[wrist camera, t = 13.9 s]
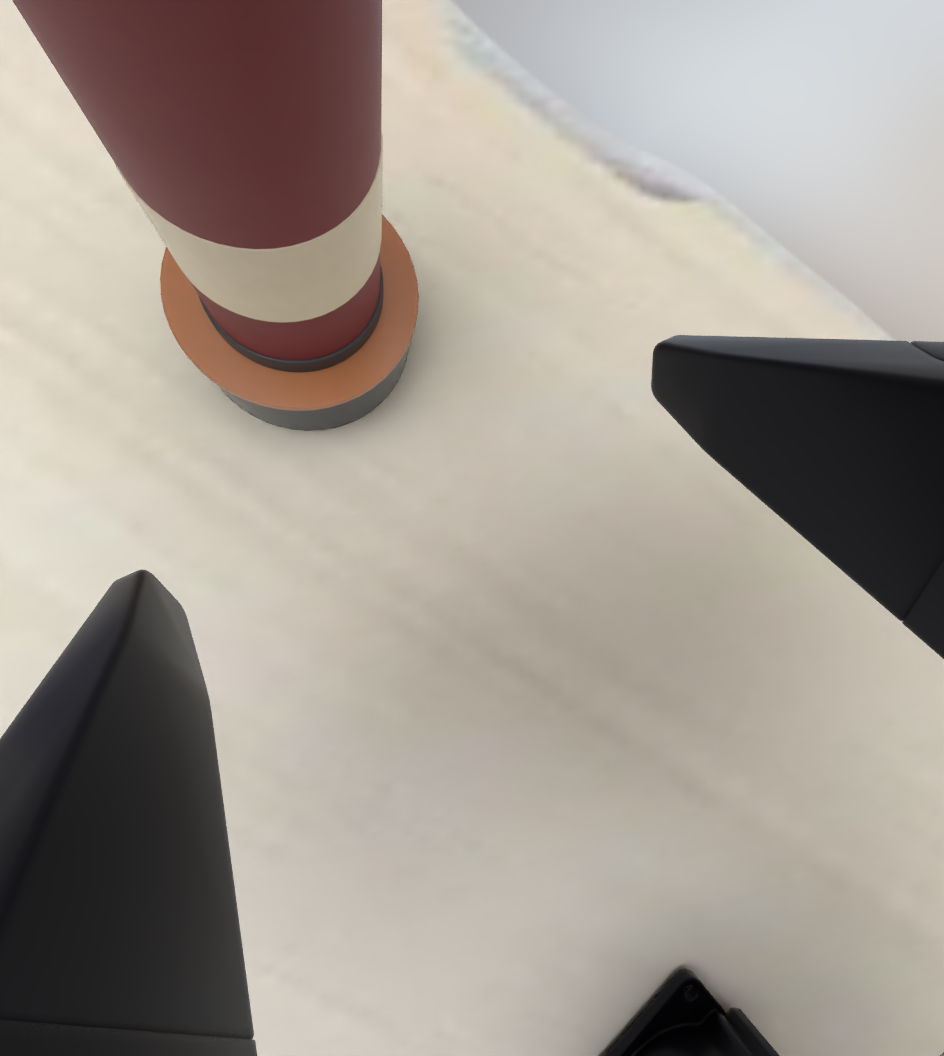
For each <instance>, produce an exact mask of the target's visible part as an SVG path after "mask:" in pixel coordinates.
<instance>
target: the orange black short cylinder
mask: <svg viewBox="0 0 944 1056" xmlns="http://www.w3.org/2000/svg"><path fill="white" fill-rule="evenodd" d="M380 263H381V267H382V273H383V305H382V311H381V315H380V318H379V321H378V323H377V326H376V328H375V330H374V332H373V333H372V335H371V336H370V338H369V339H368V340H367V342H366V343H365V344H364V345H363V346H362V347H361V348H360V349H359V350H358V351H357V352H356V353H355V354H353V355H352V356H350V357H349V358H347V359H346V360H344V361H342V362H340V363H338V364H336V365H334V366H331V367H328V368H325V369H321V370H316V371H309V372H288V371H282V370H276V369H273V368H269V367H266V366H263V365H261V364H258V363H256V362H254V361H252V360H250V359H248V358H247V357H245V356H243V355H242V354H240V353H239V352H238V351H236V350H235V349H234V348H232V347H231V346H230V345H229V344H228V343H227V342H226V341H225V340H224V339H223V337H222V336H221V335H220V334H219V332H218V331H217V330H216V328H215V327H214V325H213V324H212V322H211V321H210V319H209V317H208V316H207V314H206V312H205V311H204V308H203V306H202V304H201V301H200V299H199V295H198V293H197V292H196V290H195V289H194V287H193V285H192V284H191V282H190V281H189V279H188V278H187V277H186V275H185V274H184V273H183V272H182V270H181V269H180V267H179V266H178V264H177V263H176V261H175V259H174V258H173V256H172V255H171V253H170V252H169V250H168V248H167V247H166V250H165V253H164V257H163V261H162V268H161V278H160V283H161V298H162V303H163V308H164V312H165V315H166V318H167V321H168V324H169V326H170V329H171V331H172V333H173V334H174V336H175V338H176V340H177V342H178V344H179V345H180V346H181V348H182V349H183V351H184V352H185V354H186V355H187V356H188V358H189V359H190V360H191V361H192V362H193V363H194V364H195V365H196V366H197V367H198V369H199V370H200V371H201V372H202V373H203V374H205V375H206V376H207V377H208V378H209V379H211V380H212V381H213V382H214V383H216V384H217V385H218V386H219V387H220V388H221V389H222V391H223V392H224V393H225V394H226V395H227V396H228V397H229V398H230V399H231V400H232V401H233V402H235V403H236V404H237V405H238V406H239V407H241V408H242V409H243V410H245V411H247V412H248V413H250V414H251V415H253V416H255V417H257V418H259V419H261V420H263V421H265V422H268V423H271V424H274V425H277V426H280V427H285V428H290V429H297V430H323V429H329V428H334V427H338V426H341V425H345V424H348V423H350V422H352V421H354V420H357V419H359V418H361V417H362V416H364V415H366V414H367V413H369V412H370V411H372V410H373V409H374V408H375V407H377V406H378V405H379V404H380V403H381V402H382V401H383V400H384V399H385V398H386V397H387V396H388V395H389V394H390V392H391V391H392V389H393V388H394V386H395V385H396V383H397V381H398V379H399V377H400V375H401V374H402V371H403V368H404V365H405V362H406V358H407V352H408V346H409V343H410V341H411V338H412V335H413V332H414V329H415V324H416V319H417V313H418V285H417V279H416V274H415V270H414V266H413V263H412V261H411V258H410V255H409V253H408V251H407V249H406V247H405V245H404V243H403V241H402V239H401V238H400V236H399V235H398V233H397V232H396V231H395V229H394V228H393V226H392V225H391V224H390V223H389V222H388V220H387V219H386V218H385V217H384V216H383V215H382V240H381V247H380Z"/></svg>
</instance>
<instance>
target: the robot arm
mask: <svg viewBox="0 0 944 1056" xmlns="http://www.w3.org/2000/svg"><path fill="white" fill-rule="evenodd" d="M651 388H652V392H653V395H654V396H655V398H656V399H657V401H658V402H659V403H660V404H661V405H662V406H663V407H664V408H665V409H666V410H667V411H668V412H669V414H670V415H671V416H672V417H673V418H674V419H675V420H676V421H677V422H678V423H679V424H680V425H681V426H682V428H683V429H684V430H685V431H686V432H687V433H688V434H689V435H690V436H691V437H692V438H693V439H694V440H695V442H696V443H697V444H698V445H699V446H700V447H701V448H702V449H703V450H704V451H705V452H706V453H707V454H708V455H710V456H711V457H712V458H713V459H714V460H715V461H716V462H717V463H718V464H720V465H721V466H722V467H723V468H724V469H725V470H727V471H728V472H729V473H730V474H731V475H732V476H733V477H735V478H736V479H737V480H738V481H739V482H740V483H742V484H743V485H744V486H745V487H746V488H747V489H749V490H750V491H751V492H752V493H753V494H754V495H755V496H757V497H758V498H759V499H760V500H761V501H762V502H764V503H765V504H766V505H767V506H768V507H769V508H770V509H772V510H773V511H774V512H775V513H776V514H777V515H779V516H780V517H781V518H782V519H783V520H784V521H785V522H787V523H788V524H789V525H790V526H791V527H792V528H794V529H795V530H796V531H797V532H798V533H799V534H801V535H802V536H803V537H804V538H805V539H806V540H807V541H809V542H810V543H811V544H812V545H813V546H814V547H816V548H817V549H818V550H819V551H820V552H821V553H822V554H824V555H825V556H826V557H827V558H828V559H829V560H831V561H832V562H833V563H834V564H835V565H836V566H838V567H839V568H840V569H841V570H842V571H843V572H844V573H846V574H847V575H848V576H849V577H850V578H851V579H853V580H854V581H855V582H856V583H857V584H858V585H859V586H861V587H862V588H863V589H864V590H865V591H866V592H868V593H869V594H870V595H871V596H872V597H873V598H874V599H876V600H877V601H878V602H879V603H880V604H881V605H883V606H884V607H885V608H886V609H887V610H888V611H890V612H891V613H892V614H893V615H894V616H895V617H896V618H898V619H899V620H900V621H903V624H904V625H905V626H906V627H907V628H908V629H910V630H911V631H912V632H913V633H914V634H915V635H917V636H918V637H919V638H920V639H921V640H922V641H924V642H925V643H926V644H927V645H928V646H929V647H930V648H932V649H933V650H934V651H935V652H936V653H937V654H939V655H940V656H941V657H942V658H943V659H944V342H924V341H923V342H922V341H913V342H911V343H909V342H907V341H882V340H844V339H805V338H767V337H728V336H690V335H677V336H673V337H671V338H669V339H667V340H664V341H662V342H660V343H658V344H657V345H656V346H655V349H654V351H653V362H652V381H651ZM689 985H691V986H690V988H689V989H688V990H687V991H685V989H686V987H687V986H689ZM253 1036H254V1031H253V1024H252V1016H251V1009H250V1001H249V994H248V986H247V978H246V971H245V963H244V956H243V948H242V941H241V933H240V925H239V918H238V910H237V903H236V895H235V887H234V880H233V872H232V865H231V857H230V850H229V842H228V834H227V827H226V819H225V812H224V804H223V796H222V789H221V781H220V774H219V766H218V759H217V751H216V743H215V736H214V728H213V721H212V713H211V707H210V701H209V697H208V692H207V688H206V684H205V681H204V677H203V674H202V670H201V666H200V663H199V659H198V656H197V652H196V649H195V645H194V641H193V638H192V634H191V631H190V627H189V623H188V620H187V616H186V614H185V611H184V609H183V608H182V606H181V605H180V603H179V602H178V601H177V600H176V599H175V598H174V597H173V595H172V594H171V593H170V592H169V591H168V590H167V589H166V588H165V587H164V586H163V585H162V584H161V583H160V582H159V580H158V579H157V578H156V577H155V576H154V575H153V574H152V573H150V572H149V571H147V570H139V571H136V572H134V573H132V574H129V575H127V576H125V577H122V578H120V579H118V580H116V581H115V582H114V583H113V584H112V585H111V587H110V588H109V589H108V591H107V592H106V593H105V595H104V596H103V598H102V599H101V600H100V602H99V603H98V605H97V606H96V607H95V609H94V610H93V611H92V613H91V614H90V616H89V617H88V618H87V620H86V621H85V623H84V624H83V625H82V627H81V628H80V629H79V631H78V632H77V634H76V635H75V636H74V638H73V639H72V640H71V642H70V643H69V645H68V646H67V647H66V649H65V650H64V651H63V653H62V654H61V656H60V657H59V658H58V660H57V661H56V663H55V664H54V665H53V667H52V668H51V669H50V671H49V672H48V674H47V675H46V676H45V678H44V679H43V680H42V682H41V683H40V685H39V686H38V687H37V689H36V690H35V692H34V693H33V694H32V696H31V697H30V698H29V700H28V701H27V703H26V704H25V705H24V707H23V708H22V709H21V711H20V712H19V714H18V715H17V716H16V718H15V719H14V721H13V722H12V723H11V725H10V726H9V727H8V729H7V730H6V732H5V733H4V734H3V736H2V737H1V738H0V1056H257V1051H256V1043H255V1040H253V1039H252V1038H253ZM605 1056H779V1055H778V1053H777V1052H776V1051H775V1050H774V1049H773V1048H772V1046H771V1045H770V1044H769V1043H768V1042H767V1040H766V1039H765V1038H764V1037H763V1036H762V1034H761V1033H760V1032H759V1031H758V1030H757V1029H756V1027H755V1026H754V1025H753V1024H752V1023H751V1021H750V1020H749V1019H748V1018H747V1017H746V1015H745V1014H744V1013H743V1012H742V1011H741V1010H740V1009H738V1008H732V1007H731V1008H730V1010H729V1011H728V1012H727V1013H726V1012H725V1011H724V1010H723V1009H722V1007H721V1006H720V1005H719V1004H718V1002H717V1001H716V1000H715V999H714V998H713V996H712V995H711V994H710V993H709V991H708V990H707V989H706V988H705V986H704V985H703V984H702V983H701V982H700V980H699V979H698V978H697V977H696V975H695V974H694V973H693V972H692V971H690V970H687V969H684V970H680V971H679V972H678V973H676V974H675V976H674V977H673V978H672V979H671V980H670V981H669V982H668V984H667V985H666V986H665V987H664V988H663V989H662V990H661V992H660V993H659V994H658V995H657V996H656V997H655V999H654V1000H653V1001H652V1002H651V1003H650V1004H649V1005H648V1007H647V1008H646V1009H645V1010H644V1011H643V1012H642V1013H641V1015H640V1016H639V1017H638V1018H637V1019H636V1020H635V1022H634V1023H633V1024H632V1025H631V1026H630V1027H629V1028H628V1030H627V1031H626V1032H625V1033H624V1034H623V1035H622V1036H621V1038H620V1039H619V1040H618V1041H617V1042H616V1043H615V1045H614V1046H613V1047H612V1048H611V1049H610V1050H609V1051H608V1053H607V1054H606V1055H605ZM940 1056H944V1052H943V1053H942V1054H941V1055H940Z"/></svg>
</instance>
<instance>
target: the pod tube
mask: <svg viewBox="0 0 944 1056" xmlns="http://www.w3.org/2000/svg"><path fill="white" fill-rule="evenodd" d="M13 2H14V4H15V5H16V7H17V8H18V10H19V12H20V13H21V15H22V16H23V18H24V19H25V21H26V23H27V24H28V26H29V27H30V29H31V31H32V32H33V34H34V35H35V37H36V38H37V40H38V42H39V43H40V45H41V46H42V48H43V50H44V51H45V53H46V54H47V56H48V57H49V59H50V61H51V62H52V64H53V65H54V67H55V69H56V70H57V72H58V73H59V75H60V76H61V78H62V80H63V81H64V83H65V84H66V86H67V88H68V89H69V91H70V92H71V94H72V95H73V97H74V99H75V100H76V102H77V103H78V105H79V107H80V108H81V110H82V111H83V113H84V114H85V116H86V118H87V119H88V121H89V122H90V124H91V126H92V127H93V129H94V130H95V132H96V133H97V135H98V137H99V138H100V140H101V141H102V143H103V145H104V146H105V148H106V149H107V151H108V152H109V154H110V156H111V157H112V159H113V160H114V162H115V164H116V167H117V169H118V171H119V172H120V174H121V176H122V177H123V179H124V181H125V182H126V184H127V186H128V187H129V189H130V190H131V192H132V193H133V195H134V197H135V198H136V200H137V201H138V203H139V204H140V206H141V208H142V209H143V211H144V212H145V214H146V215H147V217H148V219H149V220H150V222H151V223H152V225H153V226H154V228H155V230H156V231H157V233H158V234H159V236H160V237H161V239H162V241H163V242H164V244H165V245H166V247H167V248H168V250H169V252H170V253H171V255H172V256H173V258H174V259H175V261H176V263H177V264H178V266H179V267H180V269H181V270H182V272H183V273H184V274H185V275H186V277H187V278H188V279H189V281H190V282H191V284H192V285H193V287H194V289H195V290H196V292H197V293H198V295H199V299H200V301H201V304H202V306H203V308H204V311H205V312H206V314H207V316H208V317H209V319H210V321H211V322H212V324H213V325H214V327H215V328H216V330H217V331H218V332H219V334H220V335H221V336H222V337H223V339H224V340H225V341H226V342H227V343H228V344H229V345H230V346H231V347H232V348H234V349H235V350H236V351H238V352H239V353H240V354H242V355H243V356H245V357H247V358H248V359H250V360H252V361H254V362H256V363H258V364H261V365H263V366H266V367H269V368H273V369H276V370H282V371H288V372H309V371H316V370H321V369H325V368H328V367H331V366H334V365H336V364H338V363H340V362H342V361H344V360H346V359H347V358H349V357H350V356H352V355H353V354H355V353H356V352H357V351H358V350H359V349H360V348H361V347H362V346H363V345H364V344H365V343H366V342H367V340H368V339H369V338H370V336H371V335H372V333H373V332H374V330H375V328H376V326H377V323H378V321H379V318H380V315H381V311H382V305H383V273H382V267H381V263H380V247H381V240H382V131H381V77H382V0H13Z"/></svg>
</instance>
